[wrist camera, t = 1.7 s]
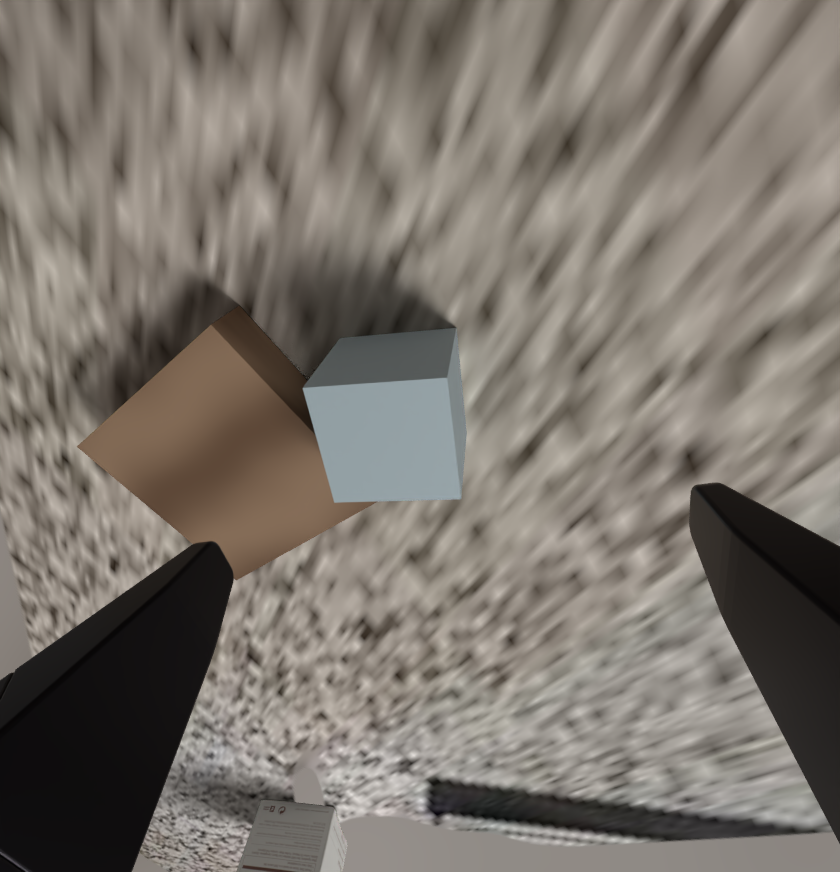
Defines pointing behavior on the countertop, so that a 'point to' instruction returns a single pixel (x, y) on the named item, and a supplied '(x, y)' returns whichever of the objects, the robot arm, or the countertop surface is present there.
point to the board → (225, 447)
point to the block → (391, 417)
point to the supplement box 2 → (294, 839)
